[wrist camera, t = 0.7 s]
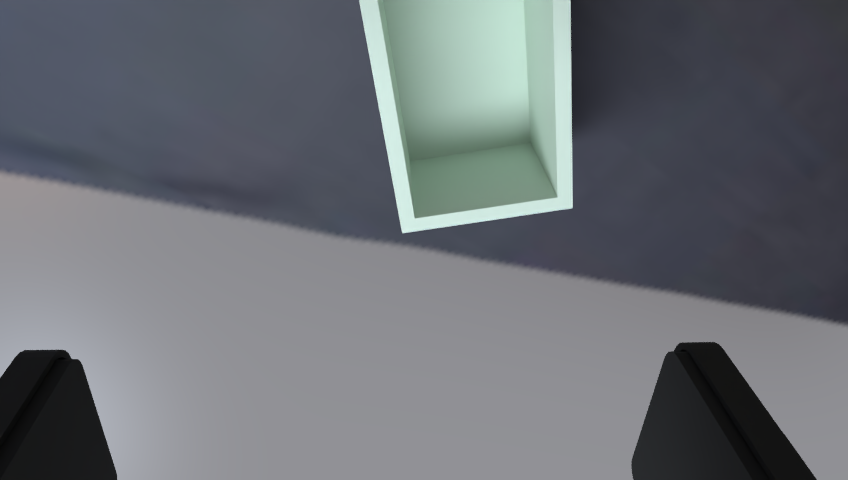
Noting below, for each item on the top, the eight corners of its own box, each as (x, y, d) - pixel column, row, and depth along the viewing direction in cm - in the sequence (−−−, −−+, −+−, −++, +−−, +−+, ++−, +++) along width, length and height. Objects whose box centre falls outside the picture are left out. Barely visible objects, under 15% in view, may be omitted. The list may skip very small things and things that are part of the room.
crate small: (532, -80, 25) (570, -61, 20) (541, 147, 30) (572, 208, 25) (359, -53, 25) (354, -26, 20) (399, 168, 31) (402, 233, 26)
